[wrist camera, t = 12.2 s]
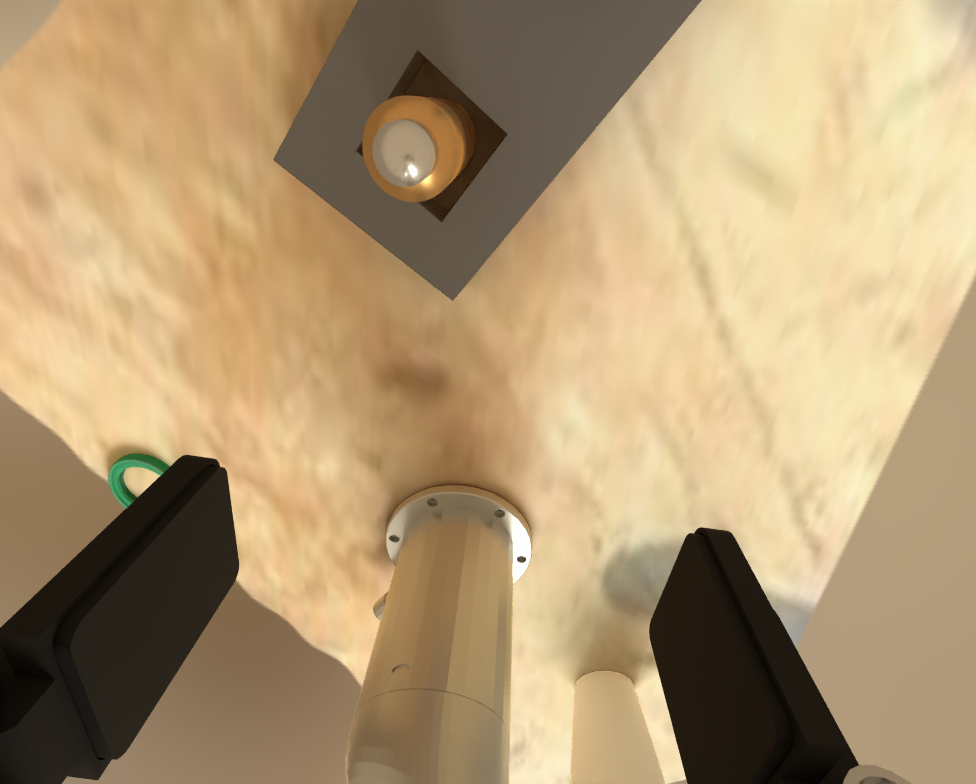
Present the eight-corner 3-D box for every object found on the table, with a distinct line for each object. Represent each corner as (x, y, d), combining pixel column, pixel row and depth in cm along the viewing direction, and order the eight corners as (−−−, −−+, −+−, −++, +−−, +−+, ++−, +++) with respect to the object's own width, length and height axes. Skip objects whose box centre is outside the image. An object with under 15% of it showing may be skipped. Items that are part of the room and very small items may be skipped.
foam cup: (667, 690, 53) (705, 847, 42) (601, 721, 57) (620, 873, 46) (607, 649, 50) (630, 807, 39) (541, 685, 54) (546, 837, 43)
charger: (458, 285, 32) (431, 360, 23) (295, 154, 29) (184, 179, 20) (747, -68, 23) (902, -187, 14) (556, -317, 20) (586, -703, 10)
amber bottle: (447, 192, 30) (415, 228, 21) (392, 144, 29) (333, 162, 20) (490, 133, 28) (474, 146, 19) (432, 80, 27) (388, 68, 18)
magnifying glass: (106, 449, 42) (90, 461, 40) (176, 452, 41) (163, 464, 40) (164, 573, 49) (153, 588, 48) (223, 576, 49) (214, 591, 48)
